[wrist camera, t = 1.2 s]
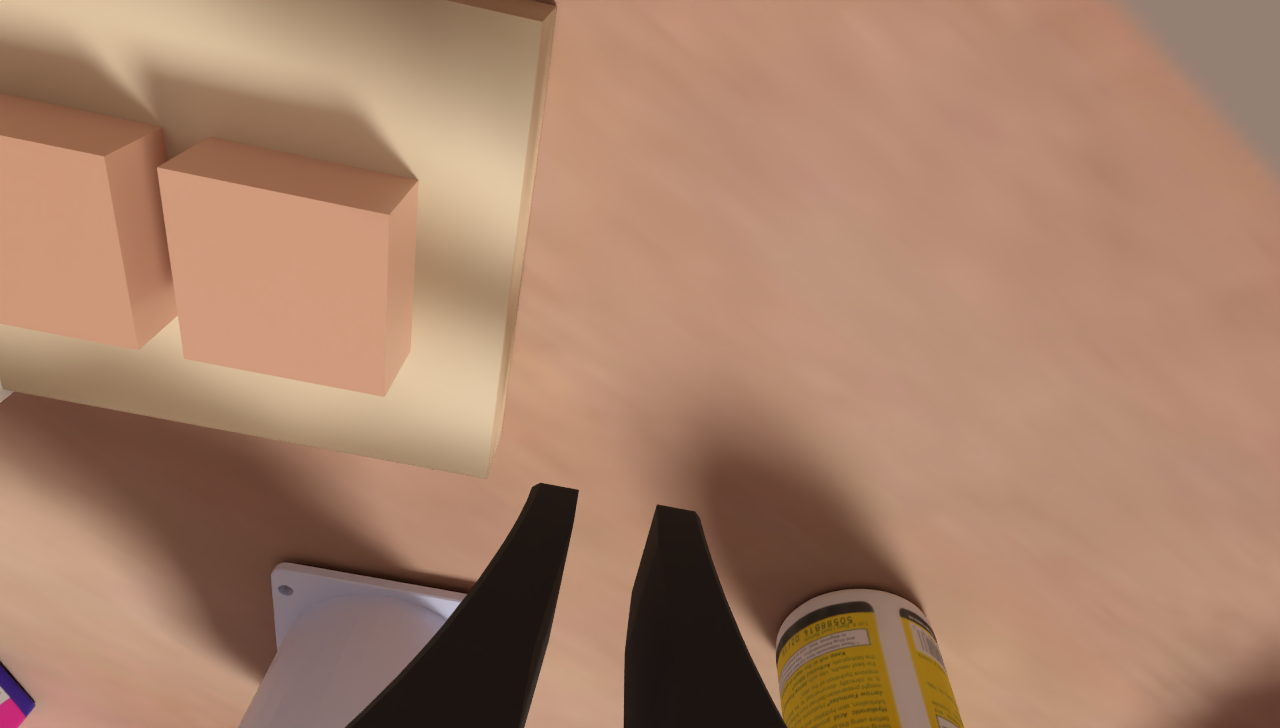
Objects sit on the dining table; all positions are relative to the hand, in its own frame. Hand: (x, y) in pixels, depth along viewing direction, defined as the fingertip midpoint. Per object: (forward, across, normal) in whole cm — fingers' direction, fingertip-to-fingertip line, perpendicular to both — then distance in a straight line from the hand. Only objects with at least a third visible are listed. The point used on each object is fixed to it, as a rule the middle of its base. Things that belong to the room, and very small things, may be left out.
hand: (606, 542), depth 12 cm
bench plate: (+9, +10, 0) cm, 13 cm away
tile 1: (+7, +8, 0) cm, 11 cm away
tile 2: (+7, +13, 0) cm, 15 cm away
